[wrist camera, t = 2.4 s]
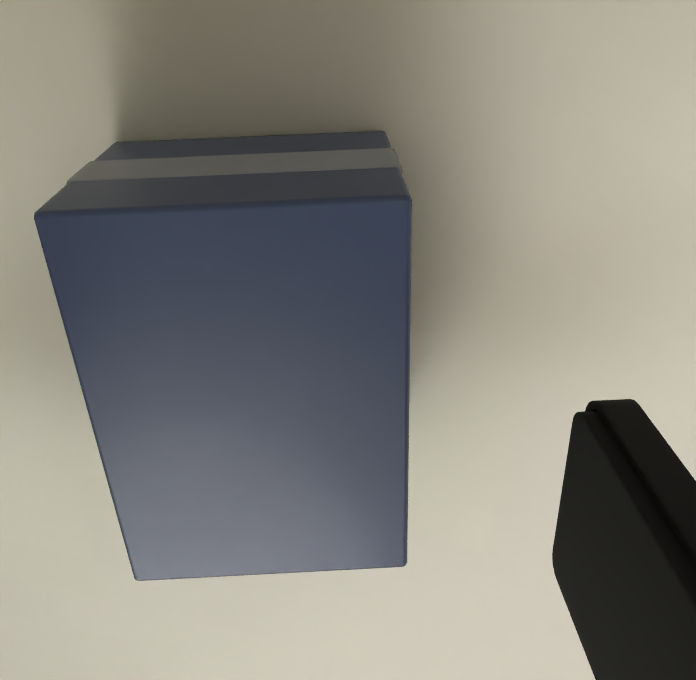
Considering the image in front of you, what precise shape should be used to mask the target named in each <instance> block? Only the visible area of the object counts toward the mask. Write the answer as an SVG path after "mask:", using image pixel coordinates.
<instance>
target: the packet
mask: <svg viewBox="0 0 696 680" xmlns="http://www.w3.org/2000/svg"><path fill="white" fill-rule="evenodd" d="M34 220H35V223H36V227H37V230H38V234H39V238H40V241H41V245H42V248H43V252H44V255H45V259H46V263H47V266H48V270H49V273H50V277H51V281H52V284H53V288H54V291H55V295H56V299H57V302H58V306H59V309H60V313H61V316H62V320H63V324H64V327H65V331H66V334H67V338H68V342H69V345H70V349H71V352H72V356H73V359H74V363H75V367H76V370H77V374H78V377H79V381H80V385H81V388H82V392H83V395H84V399H85V402H86V406H87V410H88V413H89V417H90V420H91V424H92V428H93V431H94V435H95V438H96V442H97V446H98V449H99V453H100V456H101V460H102V463H103V467H104V471H105V474H106V478H107V481H108V485H109V489H110V492H111V496H112V499H113V503H114V506H115V510H116V514H117V517H118V521H119V524H120V528H121V532H122V535H123V539H124V542H125V546H126V549H127V553H128V557H129V560H130V564H131V567H132V571H133V575H134V578H135V580H138V581H145V580H163V579H182V578H201V577H220V576H239V575H257V574H276V573H295V572H314V571H332V570H351V569H370V568H389V567H403V566H405V565H406V563H407V529H408V452H409V376H410V299H411V223H412V199H411V197H410V194H409V192H408V189H407V187H406V184H405V181H404V179H403V176H402V168H401V165H400V163H399V160H398V158H397V155H396V153H395V150H394V149H392V148H391V145H390V143H389V140H388V137H387V135H386V133H385V132H384V131H367V132H344V133H321V134H298V135H275V136H252V137H229V138H206V139H183V140H161V141H138V142H116V143H114V144H113V145H112V146H110V147H109V148H108V149H107V150H106V151H105V152H104V153H102V154H101V155H100V156H99V157H98V158H97V159H96V160H94V161H91V162H89V163H88V164H86V165H85V166H84V167H83V168H82V169H81V170H79V171H78V172H77V173H76V174H75V175H74V176H72V177H71V178H70V179H69V180H68V181H67V185H66V186H65V187H64V188H62V189H61V190H60V191H59V192H58V193H57V194H56V195H54V196H53V197H52V198H51V199H50V200H49V201H48V202H46V203H45V204H44V205H43V206H42V207H41V208H40V209H38V210H37V211H36V212H35V214H34Z"/></svg>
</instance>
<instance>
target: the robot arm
mask: <svg viewBox="0 0 696 680" xmlns="http://www.w3.org/2000/svg"><path fill="white" fill-rule="evenodd" d="M552 556H553V567H554V572H555V576H556V579H557V582H558V584H559V587H560V589H561V592H562V594H563V597H564V600H565V602H566V605H567V607H568V610H569V612H570V615H571V617H572V620H573V623H574V625H575V628H576V630H577V633H578V635H579V638H580V641H581V643H582V646H583V648H584V651H585V653H586V656H587V659H588V661H589V664H590V666H591V669H592V671H593V674H594V677H595V679H596V680H696V481H695V480H694V478H693V477H692V476H691V474H690V473H689V471H688V470H687V469H686V467H685V466H684V465H683V463H682V462H681V461H680V459H679V458H678V457H677V455H676V454H675V453H674V451H673V450H672V449H671V447H670V446H669V445H668V443H667V442H666V440H665V439H664V438H663V436H662V435H661V434H660V432H659V431H658V430H657V428H656V427H655V426H654V424H653V423H652V422H651V420H650V419H649V418H648V416H647V415H646V414H645V412H644V411H643V409H642V408H641V407H640V405H639V404H638V403H637V402H636V401H635V400H632V399H622V400H602V401H591V402H589V403H588V405H587V407H586V410H585V412H577V413H576V414H575V415H574V418H573V422H572V429H571V435H570V442H569V448H568V455H567V461H566V467H565V474H564V480H563V487H562V493H561V500H560V506H559V513H558V519H557V526H556V532H555V539H554V545H553V554H552Z"/></svg>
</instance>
